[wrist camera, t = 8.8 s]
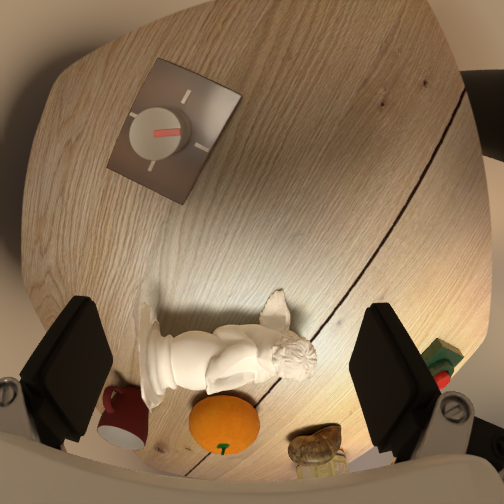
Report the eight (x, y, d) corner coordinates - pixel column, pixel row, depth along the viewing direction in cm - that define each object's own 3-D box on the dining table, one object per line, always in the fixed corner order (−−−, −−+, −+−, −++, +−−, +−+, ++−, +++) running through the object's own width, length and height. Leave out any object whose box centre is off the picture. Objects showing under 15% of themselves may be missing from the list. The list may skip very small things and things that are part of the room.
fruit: (177, 400, 46) (168, 448, 37) (230, 377, 43) (228, 431, 34) (220, 429, 50) (218, 472, 41) (272, 410, 47) (276, 458, 38)
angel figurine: (298, 293, 42) (310, 378, 39) (157, 310, 40) (167, 395, 37) (327, 271, 29) (345, 392, 26) (124, 294, 27) (138, 418, 24)
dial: (147, 155, 26) (129, 163, 22) (145, 110, 24) (126, 110, 20) (192, 152, 26) (182, 159, 22) (190, 105, 24) (179, 104, 20)
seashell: (284, 445, 54) (288, 476, 47) (288, 425, 50) (292, 460, 43) (335, 440, 54) (341, 469, 47) (344, 419, 50) (353, 452, 43)
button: (440, 368, 40) (444, 375, 38) (449, 371, 41) (453, 378, 39) (426, 382, 41) (429, 389, 40) (435, 385, 42) (439, 391, 41)
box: (436, 337, 41) (447, 353, 38) (459, 349, 44) (468, 363, 40) (398, 377, 45) (405, 393, 42) (423, 384, 47) (431, 399, 44)
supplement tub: (319, 468, 62) (328, 521, 47) (284, 462, 58) (290, 521, 43) (354, 449, 58) (368, 506, 42) (320, 443, 54) (332, 508, 39)
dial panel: (164, 61, 24) (157, 56, 22) (242, 97, 26) (242, 95, 24) (115, 163, 29) (105, 167, 26) (187, 198, 31) (182, 206, 28)
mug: (95, 372, 43) (76, 416, 34) (129, 365, 42) (111, 414, 33) (130, 407, 47) (118, 450, 38) (164, 403, 46) (155, 449, 37)
